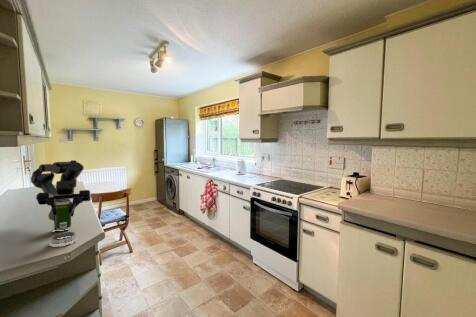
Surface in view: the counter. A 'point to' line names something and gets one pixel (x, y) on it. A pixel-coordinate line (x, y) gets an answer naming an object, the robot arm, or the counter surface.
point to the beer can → (62, 214)
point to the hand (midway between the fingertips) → (62, 213)
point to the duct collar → (64, 240)
